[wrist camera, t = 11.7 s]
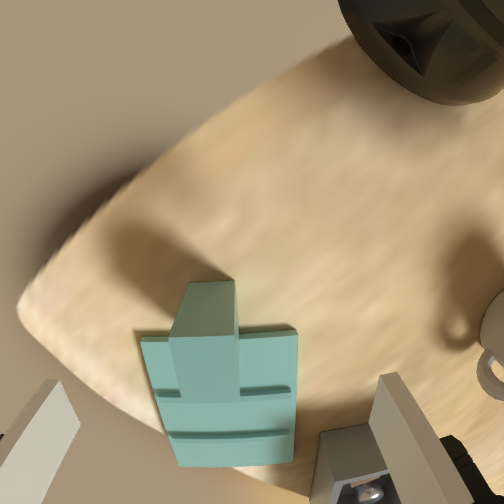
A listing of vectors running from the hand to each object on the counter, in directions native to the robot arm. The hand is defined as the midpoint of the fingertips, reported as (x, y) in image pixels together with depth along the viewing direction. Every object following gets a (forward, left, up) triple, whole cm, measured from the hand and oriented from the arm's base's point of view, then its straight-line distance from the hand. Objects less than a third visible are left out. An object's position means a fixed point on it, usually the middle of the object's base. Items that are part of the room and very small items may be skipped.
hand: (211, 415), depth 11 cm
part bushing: (+24, +14, -9) cm, 29 cm away
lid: (+8, 0, -10) cm, 13 cm away
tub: (+21, +13, -10) cm, 26 cm away
